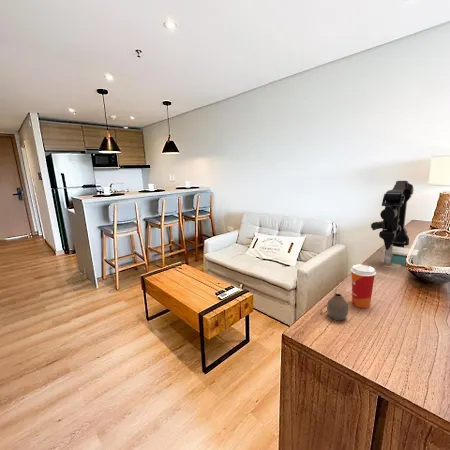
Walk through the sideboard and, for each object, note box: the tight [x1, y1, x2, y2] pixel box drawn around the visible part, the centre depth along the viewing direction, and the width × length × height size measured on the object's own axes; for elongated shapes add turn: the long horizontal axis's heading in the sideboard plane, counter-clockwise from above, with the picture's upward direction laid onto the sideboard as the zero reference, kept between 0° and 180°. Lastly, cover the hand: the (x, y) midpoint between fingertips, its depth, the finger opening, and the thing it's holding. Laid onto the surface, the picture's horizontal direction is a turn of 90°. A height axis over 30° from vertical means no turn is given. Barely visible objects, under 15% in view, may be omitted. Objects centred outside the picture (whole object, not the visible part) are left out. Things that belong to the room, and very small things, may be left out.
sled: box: [382, 245, 407, 270], centre depth 125 cm, size 14×10×12 cm
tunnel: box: [381, 246, 420, 265], centre depth 127 cm, size 10×14×8 cm
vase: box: [326, 292, 349, 321], centre depth 86 cm, size 7×7×9 cm
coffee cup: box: [350, 263, 377, 309], centre depth 92 cm, size 8×8×15 cm
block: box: [391, 254, 407, 266], centre depth 127 cm, size 6×6×4 cm
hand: (389, 247), depth 123 cm, fingers open, 9 cm apart
